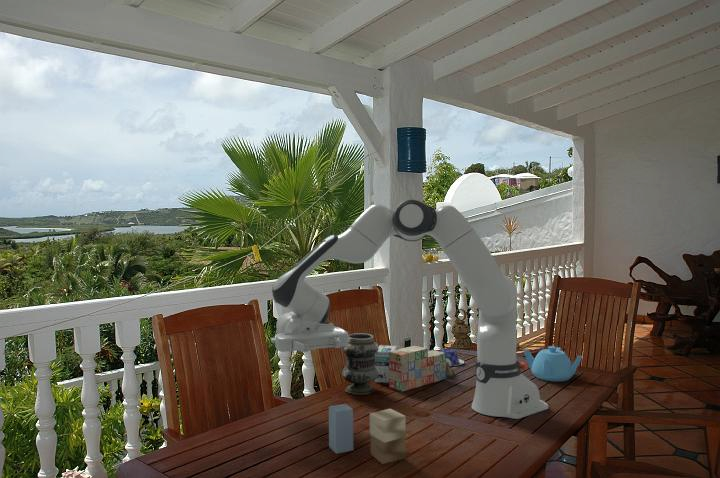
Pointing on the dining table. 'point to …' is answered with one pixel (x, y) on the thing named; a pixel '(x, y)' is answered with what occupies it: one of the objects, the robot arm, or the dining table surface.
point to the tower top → (387, 425)
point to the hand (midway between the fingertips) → (322, 346)
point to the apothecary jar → (360, 363)
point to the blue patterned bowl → (452, 357)
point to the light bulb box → (383, 362)
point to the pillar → (341, 428)
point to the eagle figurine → (449, 369)
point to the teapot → (552, 364)
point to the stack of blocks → (415, 367)
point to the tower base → (388, 450)
